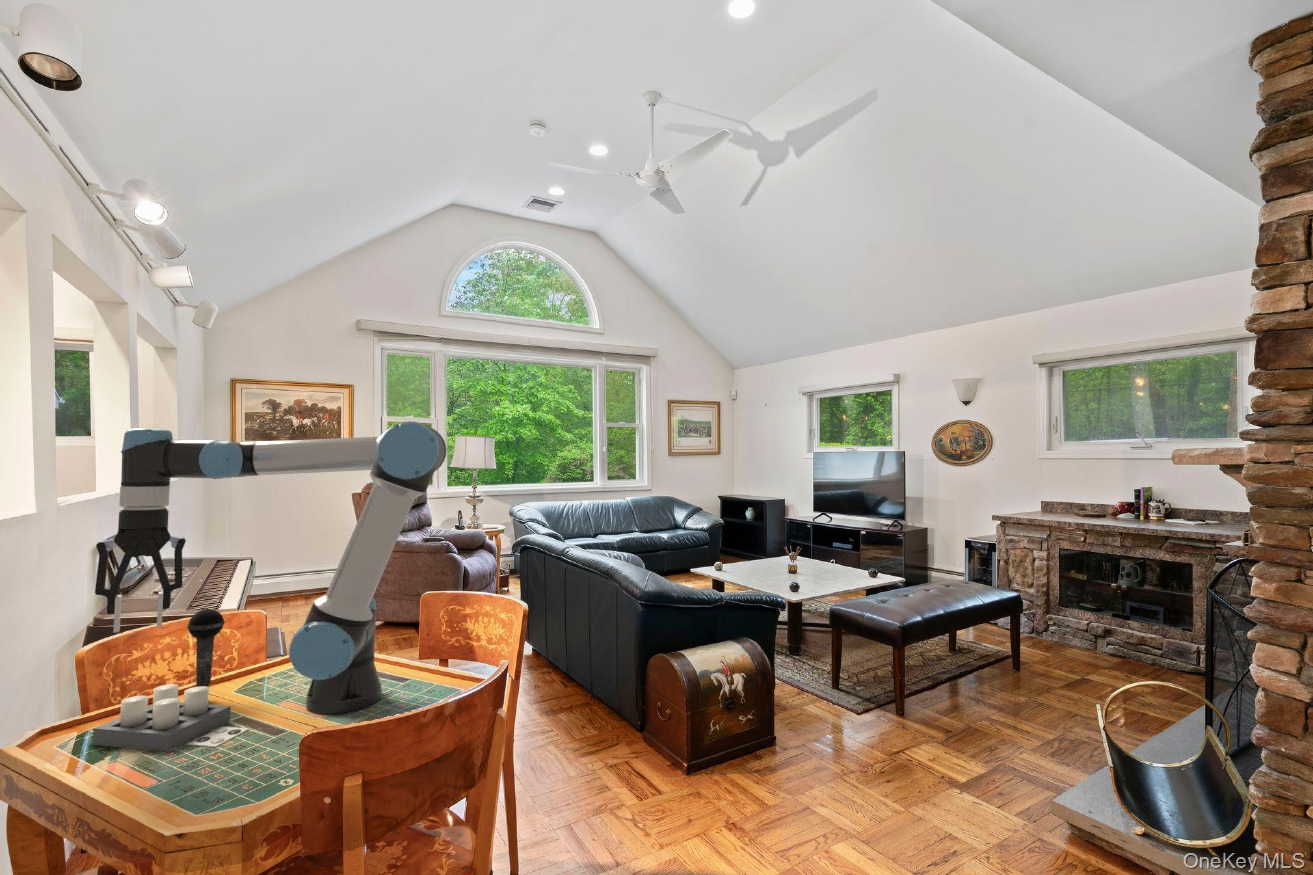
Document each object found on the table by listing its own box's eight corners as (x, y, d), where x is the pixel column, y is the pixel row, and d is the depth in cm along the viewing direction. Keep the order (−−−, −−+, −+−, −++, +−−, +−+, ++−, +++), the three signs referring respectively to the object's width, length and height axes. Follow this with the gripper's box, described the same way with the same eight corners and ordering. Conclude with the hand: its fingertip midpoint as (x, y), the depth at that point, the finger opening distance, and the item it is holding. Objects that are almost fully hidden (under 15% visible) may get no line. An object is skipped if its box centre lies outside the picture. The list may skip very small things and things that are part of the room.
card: (249, 729, 125) (249, 727, 125) (215, 747, 117) (215, 745, 117) (222, 727, 126) (222, 725, 126) (187, 744, 118) (187, 743, 118)
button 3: (184, 722, 121) (185, 698, 122) (165, 730, 117) (166, 706, 118) (165, 720, 122) (167, 697, 122) (146, 729, 118) (147, 704, 118)
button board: (229, 720, 129) (230, 706, 129) (167, 751, 115) (168, 734, 115) (161, 715, 131) (162, 700, 132) (92, 744, 118) (93, 728, 118)
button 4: (212, 709, 128) (213, 686, 128) (195, 717, 124) (196, 693, 124) (195, 707, 129) (196, 685, 129) (177, 715, 125) (179, 692, 125)
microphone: (215, 692, 145) (219, 604, 146) (225, 699, 141) (229, 609, 142) (179, 700, 140) (183, 609, 141) (188, 708, 135) (193, 614, 136)
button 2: (182, 707, 129) (183, 684, 129) (164, 714, 125) (165, 691, 125) (165, 705, 130) (166, 683, 130) (147, 713, 126) (148, 690, 126)
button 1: (152, 719, 122) (153, 696, 123) (132, 728, 118) (133, 703, 119) (134, 718, 123) (135, 694, 123) (114, 726, 119) (115, 702, 119)
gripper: (203, 505, 131) (197, 617, 130) (82, 508, 120) (75, 631, 119) (203, 507, 125) (198, 625, 124) (77, 510, 114) (69, 640, 113)
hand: (138, 628), depth 122 cm, fingers open, 6 cm apart
